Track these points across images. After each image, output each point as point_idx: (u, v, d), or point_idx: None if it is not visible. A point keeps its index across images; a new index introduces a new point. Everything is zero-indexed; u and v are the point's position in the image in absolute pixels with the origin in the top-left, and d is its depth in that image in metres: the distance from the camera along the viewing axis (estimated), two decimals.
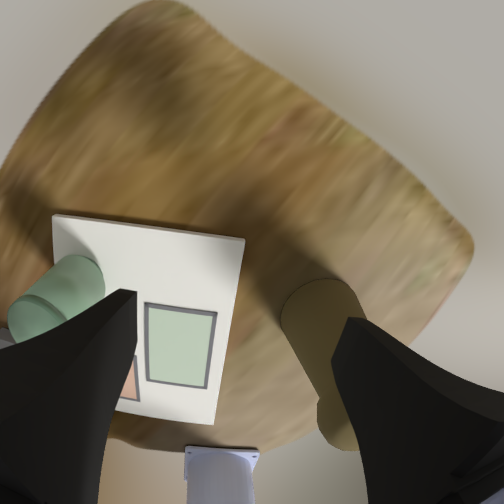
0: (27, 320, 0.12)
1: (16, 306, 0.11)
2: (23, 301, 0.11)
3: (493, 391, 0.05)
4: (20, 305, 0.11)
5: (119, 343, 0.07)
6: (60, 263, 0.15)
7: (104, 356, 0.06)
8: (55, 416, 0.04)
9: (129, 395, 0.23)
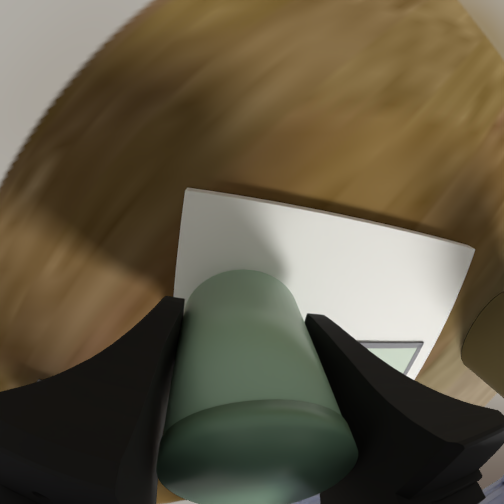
0: (245, 462, 0.04)
1: (216, 441, 0.04)
2: (259, 430, 0.04)
3: (457, 401, 0.05)
4: (237, 438, 0.04)
5: (173, 353, 0.08)
6: (236, 290, 0.08)
7: (165, 368, 0.07)
8: (143, 439, 0.04)
9: None
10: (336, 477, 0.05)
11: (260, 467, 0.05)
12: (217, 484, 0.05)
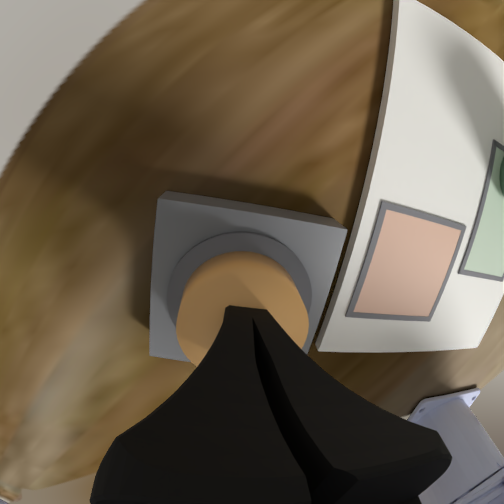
0: None
1: None
2: None
3: (386, 415, 0.04)
4: None
5: None
6: None
7: None
8: None
9: (420, 312, 0.14)
10: None
11: None
12: None
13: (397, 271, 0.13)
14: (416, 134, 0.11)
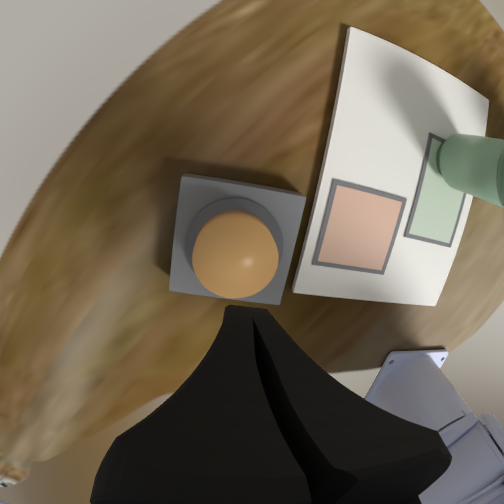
0: None
1: None
2: None
3: (386, 414, 0.04)
4: None
5: None
6: None
7: None
8: None
9: (374, 266, 0.20)
10: None
11: None
12: None
13: (350, 231, 0.19)
14: (359, 132, 0.17)
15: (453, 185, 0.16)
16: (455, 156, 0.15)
